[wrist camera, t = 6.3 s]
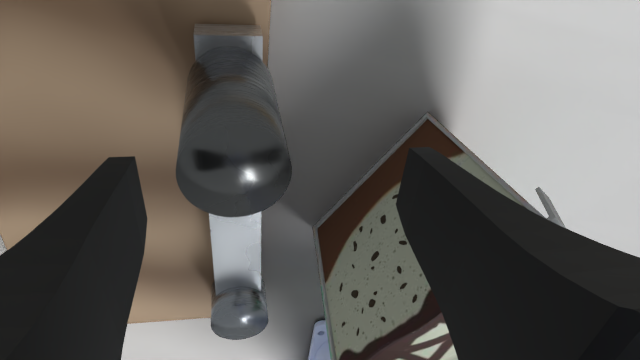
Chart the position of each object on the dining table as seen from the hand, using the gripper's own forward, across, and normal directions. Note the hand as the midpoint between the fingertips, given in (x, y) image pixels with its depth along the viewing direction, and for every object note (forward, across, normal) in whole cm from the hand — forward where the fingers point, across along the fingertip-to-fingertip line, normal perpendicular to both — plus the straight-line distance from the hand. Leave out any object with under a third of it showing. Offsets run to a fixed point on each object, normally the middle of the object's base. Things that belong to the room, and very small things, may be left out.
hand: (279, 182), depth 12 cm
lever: (+8, +1, +6) cm, 10 cm away
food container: (+10, -8, +9) cm, 15 cm away
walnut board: (+9, +6, +6) cm, 13 cm away
